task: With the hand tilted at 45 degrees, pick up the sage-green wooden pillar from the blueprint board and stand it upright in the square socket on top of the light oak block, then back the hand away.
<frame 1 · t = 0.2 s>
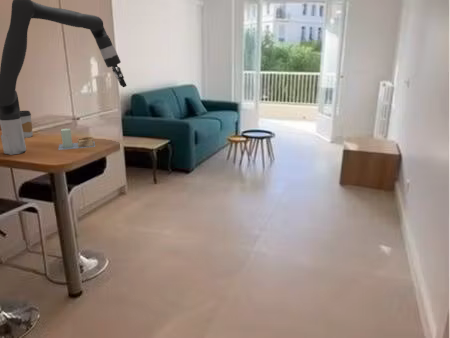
hand: (123, 86, 197), 31 cm above the counter, tool tilted 20°, fingers open, 8 cm apart
pillar: (68, 146, 196), point 1 cm above the counter, touching blueprint board
socket block: (86, 144, 199), resting on blueprint board
coffee cup: (27, 136, 221), on the counter
blueprint board: (77, 146, 198), on the counter
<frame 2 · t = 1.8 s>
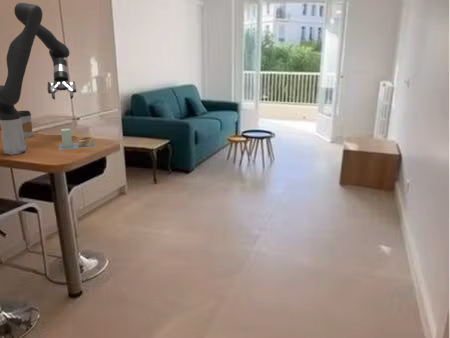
hand: (62, 98, 199), 25 cm above the counter, tool tilted 45°, fingers open, 8 cm apart
nothing on the counter moved.
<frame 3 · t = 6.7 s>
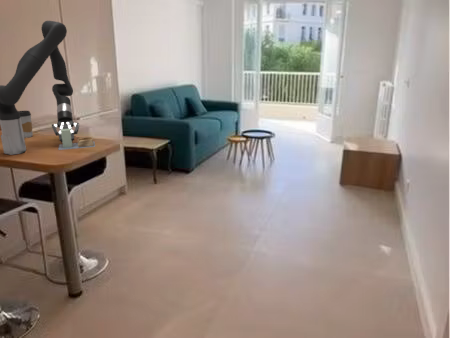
hand: (67, 140, 193), 4 cm above the counter, tool tilted 45°, fingers closed on pillar, 4 cm apart
pillar: (68, 146, 196), point 1 cm above the counter, touching blueprint board, gripper
everything else where it was.
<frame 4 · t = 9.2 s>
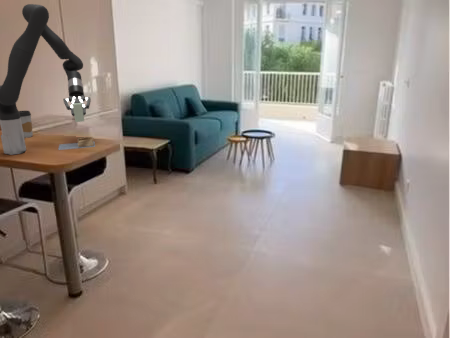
hand: (79, 114, 192), 17 cm above the counter, tool tilted 45°, fingers closed on pillar, 4 cm apart
pillar: (79, 120, 195), point 14 cm above the counter, touching gripper
everything else where it was.
when the fingers open (8 cm above the counter, at t = 12.0 s): pillar drops 1 cm, resting on socket block.
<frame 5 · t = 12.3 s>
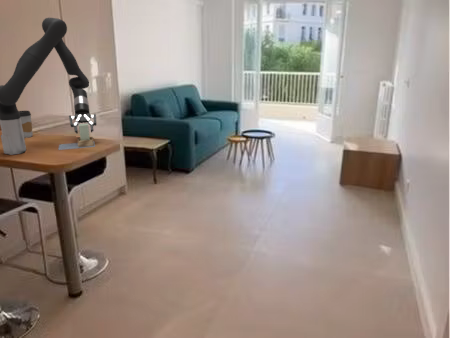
hand: (84, 132, 195), 8 cm above the counter, tool tilted 45°, fingers open, 6 cm apart
pillar: (85, 141, 198), point 3 cm above the counter, touching socket block
everything else where it was.
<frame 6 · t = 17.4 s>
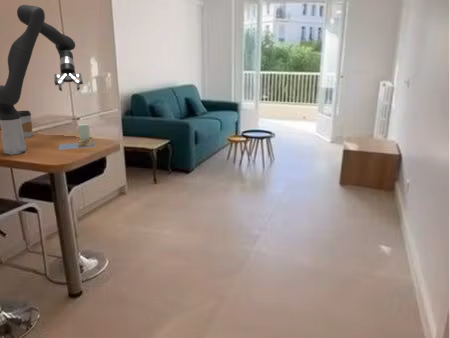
hand: (69, 89, 202), 29 cm above the counter, tool tilted 45°, fingers open, 8 cm apart
nothing on the counter moved.
at the end: pillar 0.1 cm off-centre on the socket block, point 2.0 cm above the socket block's base; pillar tilted 0°; the gripper is holding nothing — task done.
